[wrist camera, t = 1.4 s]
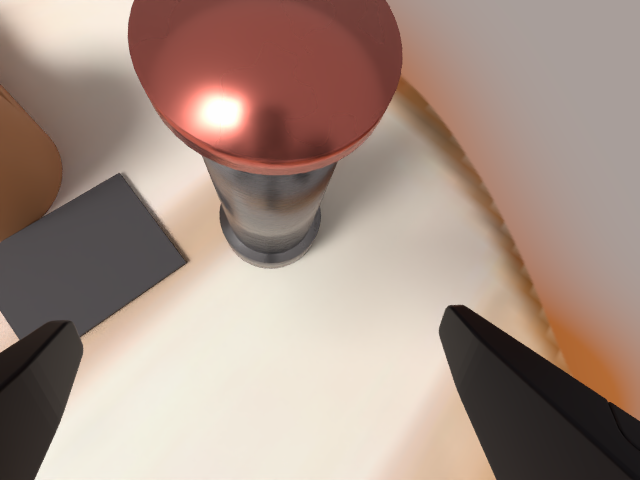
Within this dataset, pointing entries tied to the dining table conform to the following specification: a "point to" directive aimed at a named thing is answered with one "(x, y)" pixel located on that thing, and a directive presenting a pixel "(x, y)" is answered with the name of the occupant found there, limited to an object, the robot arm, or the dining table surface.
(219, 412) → the dining table surface
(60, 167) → the bracket
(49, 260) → the dark grey rectangular plate
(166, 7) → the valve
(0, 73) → the dining table surface
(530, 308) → the dining table surface
